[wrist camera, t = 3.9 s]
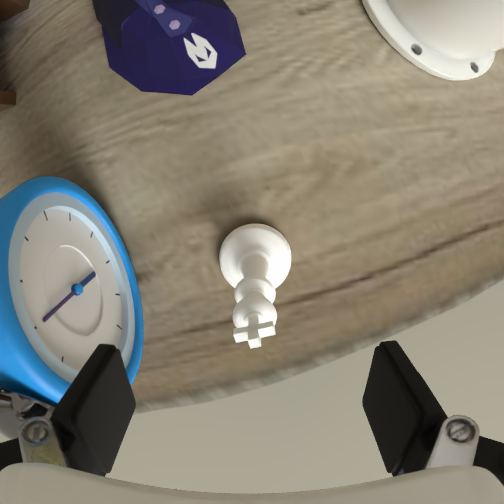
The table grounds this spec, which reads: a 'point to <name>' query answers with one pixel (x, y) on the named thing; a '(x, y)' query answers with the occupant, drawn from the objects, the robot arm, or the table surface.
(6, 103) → the shelf
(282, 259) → the chess piece
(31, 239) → the alarm clock
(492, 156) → the table surface
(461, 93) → the table surface
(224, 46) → the computer mouse
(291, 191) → the table surface
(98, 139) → the table surface
